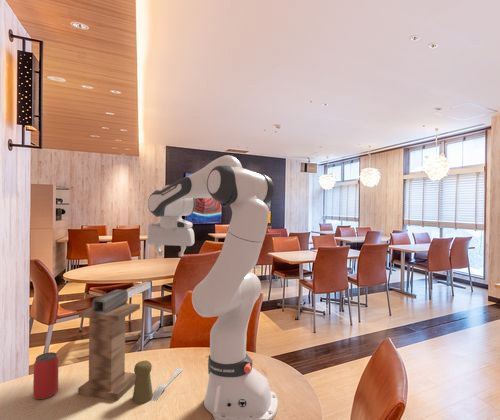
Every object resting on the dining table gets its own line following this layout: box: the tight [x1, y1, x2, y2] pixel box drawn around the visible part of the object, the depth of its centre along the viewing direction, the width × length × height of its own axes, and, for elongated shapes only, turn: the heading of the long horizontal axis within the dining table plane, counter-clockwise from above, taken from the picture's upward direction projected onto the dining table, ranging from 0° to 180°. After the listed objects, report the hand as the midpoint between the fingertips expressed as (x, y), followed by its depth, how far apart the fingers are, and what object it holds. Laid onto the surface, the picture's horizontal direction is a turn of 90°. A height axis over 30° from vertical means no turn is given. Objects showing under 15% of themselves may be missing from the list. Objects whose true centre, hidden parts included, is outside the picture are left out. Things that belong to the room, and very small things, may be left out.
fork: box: [150, 367, 184, 402], centre depth 106 cm, size 3×21×3 cm, turn 168°
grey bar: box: [125, 280, 153, 299], centre depth 116 cm, size 2×22×2 cm, turn 168°
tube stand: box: [77, 289, 141, 401], centre depth 103 cm, size 14×12×31 cm
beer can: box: [32, 351, 59, 400], centre depth 99 cm, size 7×7×12 cm
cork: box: [132, 360, 154, 405], centre depth 97 cm, size 6×6×11 cm
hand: (170, 255), depth 132 cm, fingers open, 8 cm apart
